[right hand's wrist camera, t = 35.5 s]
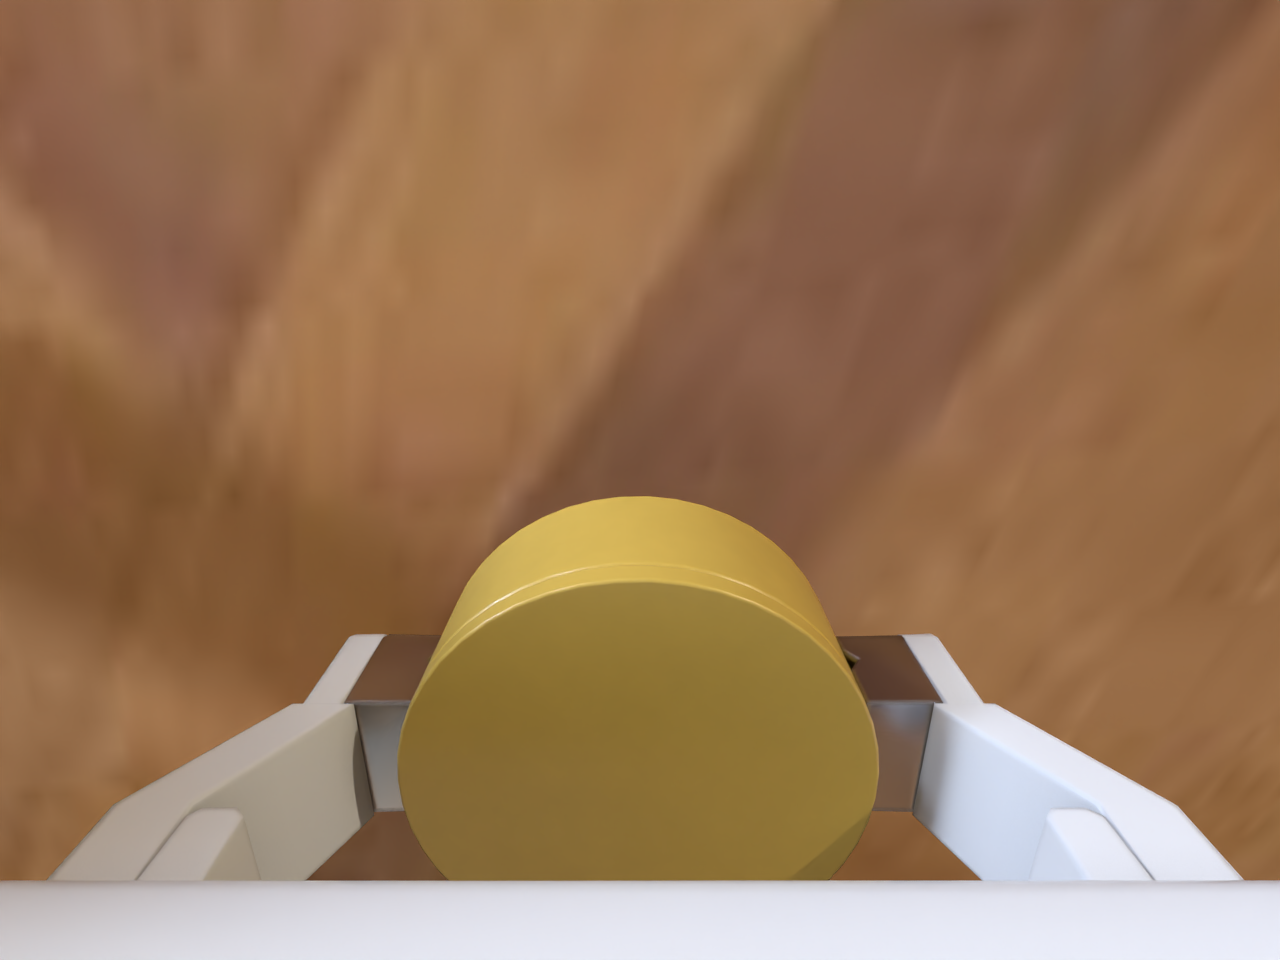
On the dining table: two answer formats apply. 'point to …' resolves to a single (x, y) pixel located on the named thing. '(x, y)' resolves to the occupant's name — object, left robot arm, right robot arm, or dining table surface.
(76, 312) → the dining table surface
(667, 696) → the lid
